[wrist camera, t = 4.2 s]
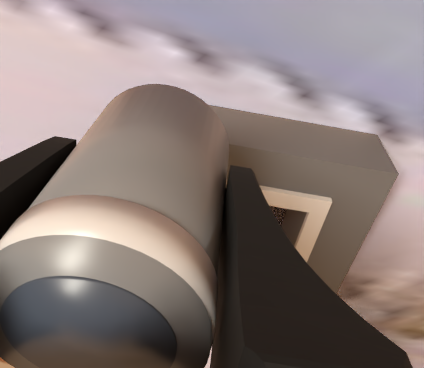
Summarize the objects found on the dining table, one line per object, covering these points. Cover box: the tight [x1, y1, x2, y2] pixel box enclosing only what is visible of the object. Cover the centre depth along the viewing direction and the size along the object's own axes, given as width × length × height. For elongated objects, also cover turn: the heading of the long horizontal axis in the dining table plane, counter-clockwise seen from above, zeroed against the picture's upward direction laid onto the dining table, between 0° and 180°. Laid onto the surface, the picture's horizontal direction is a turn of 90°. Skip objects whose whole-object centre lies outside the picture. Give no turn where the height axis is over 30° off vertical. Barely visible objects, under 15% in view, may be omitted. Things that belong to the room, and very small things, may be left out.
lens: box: [0, 84, 229, 368], centre depth 10 cm, size 4×4×7 cm
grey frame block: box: [209, 105, 398, 293], centre depth 21 cm, size 12×11×4 cm
